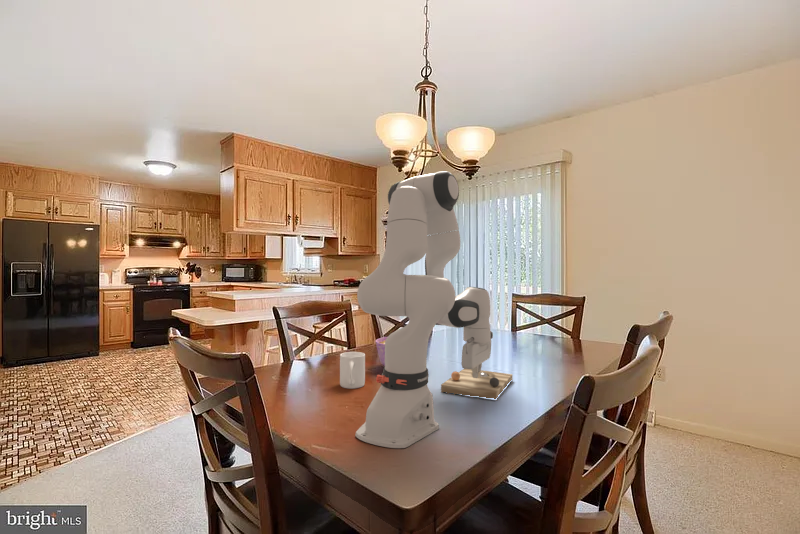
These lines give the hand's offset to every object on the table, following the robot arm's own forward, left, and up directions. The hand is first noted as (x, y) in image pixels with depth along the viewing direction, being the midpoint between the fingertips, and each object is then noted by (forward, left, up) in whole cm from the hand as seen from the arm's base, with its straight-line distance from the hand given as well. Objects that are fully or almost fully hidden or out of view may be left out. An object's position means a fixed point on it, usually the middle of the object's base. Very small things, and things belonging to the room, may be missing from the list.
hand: (476, 377), depth 132 cm
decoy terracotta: (0, +7, 0) cm, 7 cm away
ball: (+10, +1, -3) cm, 11 cm away
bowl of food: (+12, +35, -5) cm, 37 cm away
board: (+5, +1, -4) cm, 6 cm away
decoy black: (-1, -6, 0) cm, 7 cm away
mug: (-16, +39, -5) cm, 42 cm away
